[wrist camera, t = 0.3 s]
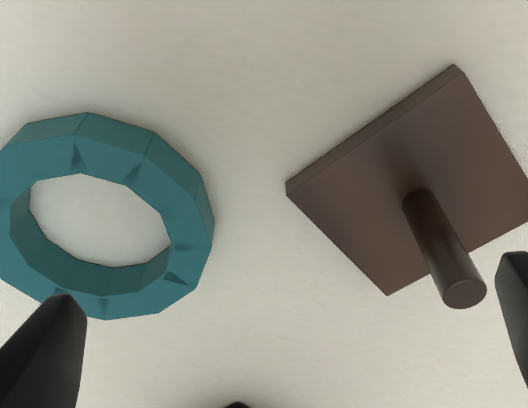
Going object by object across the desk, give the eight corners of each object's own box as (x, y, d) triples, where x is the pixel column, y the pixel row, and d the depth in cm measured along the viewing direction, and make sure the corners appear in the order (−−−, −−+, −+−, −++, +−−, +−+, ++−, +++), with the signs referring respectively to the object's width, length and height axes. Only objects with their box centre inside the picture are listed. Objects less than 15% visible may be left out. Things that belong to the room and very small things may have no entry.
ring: (119, 315, 30) (110, 345, 28) (-52, 205, 25) (-78, 232, 23) (254, 222, 26) (254, 250, 24) (82, 65, 21) (63, 84, 19)
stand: (382, 282, 29) (417, 393, 23) (284, 183, 24) (294, 286, 18) (536, 198, 25) (628, 303, 19) (454, 63, 21) (540, 141, 14)
